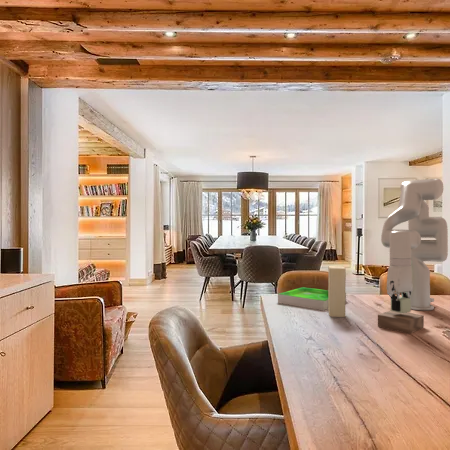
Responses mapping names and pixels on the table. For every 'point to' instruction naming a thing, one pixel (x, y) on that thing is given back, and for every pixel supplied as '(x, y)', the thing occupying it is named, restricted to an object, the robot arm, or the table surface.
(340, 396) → the table surface
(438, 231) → the robot arm
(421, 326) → the walnut block
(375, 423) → the table surface
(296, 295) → the tray
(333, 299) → the tall beige block
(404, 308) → the cream cube
